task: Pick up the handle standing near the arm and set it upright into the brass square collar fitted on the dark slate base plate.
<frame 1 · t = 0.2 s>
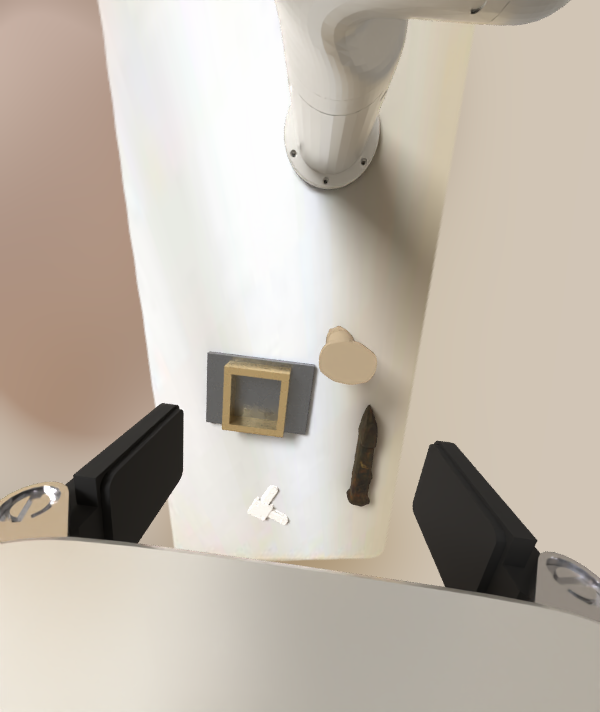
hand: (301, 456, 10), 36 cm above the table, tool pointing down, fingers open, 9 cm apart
collar base: (259, 392, 49), on the table
dark brown carved statuette: (358, 449, 51), on the table
corner connector: (275, 501, 56), on the table
handle: (337, 335, 45), on the table
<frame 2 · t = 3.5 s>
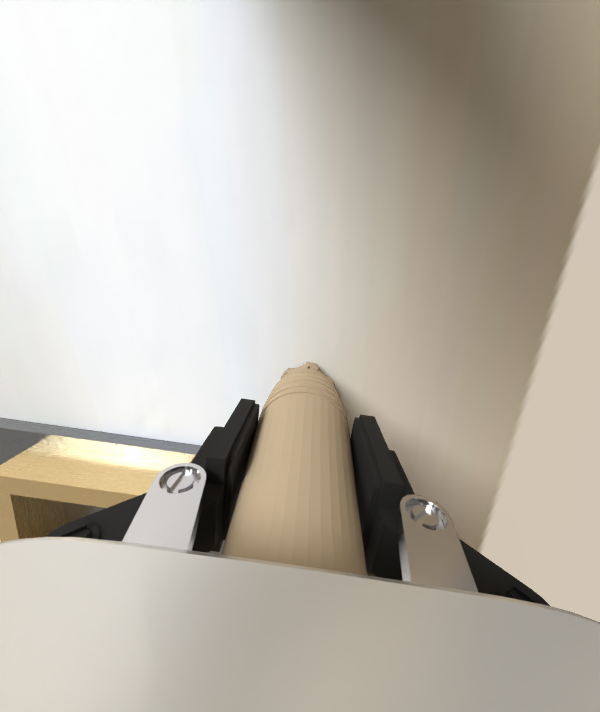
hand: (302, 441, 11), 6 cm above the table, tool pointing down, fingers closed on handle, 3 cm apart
collar base: (127, 510, 21), on the table
handle: (306, 383, 18), on the table, touching gripper
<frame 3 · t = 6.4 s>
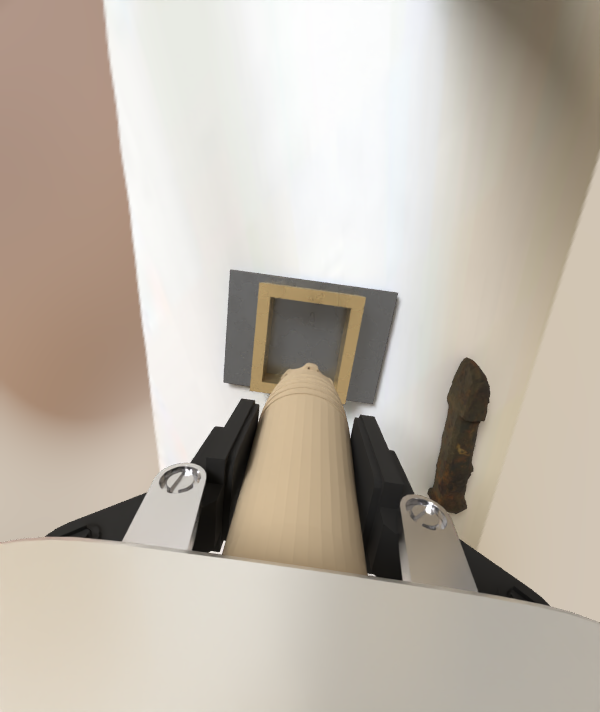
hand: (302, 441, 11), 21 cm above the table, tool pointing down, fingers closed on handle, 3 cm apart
collar base: (305, 338, 32), on the table
dark brown carved statuette: (445, 428, 35), on the table
handle: (306, 384, 18), point 15 cm above the table, touching gripper
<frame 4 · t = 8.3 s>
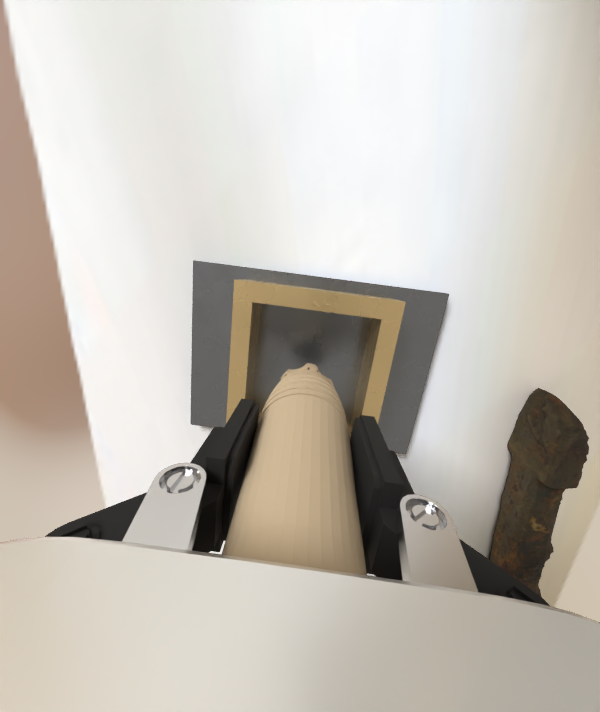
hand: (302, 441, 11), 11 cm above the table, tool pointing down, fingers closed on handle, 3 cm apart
collar base: (308, 361, 22), on the table
dark brown carved statuette: (503, 484, 25), on the table
handle: (306, 384, 18), point 5 cm above the table, touching gripper
when the fingers open (9 cm above the table, at t = 9.6 s): handle drops 1 cm, resting on collar base.
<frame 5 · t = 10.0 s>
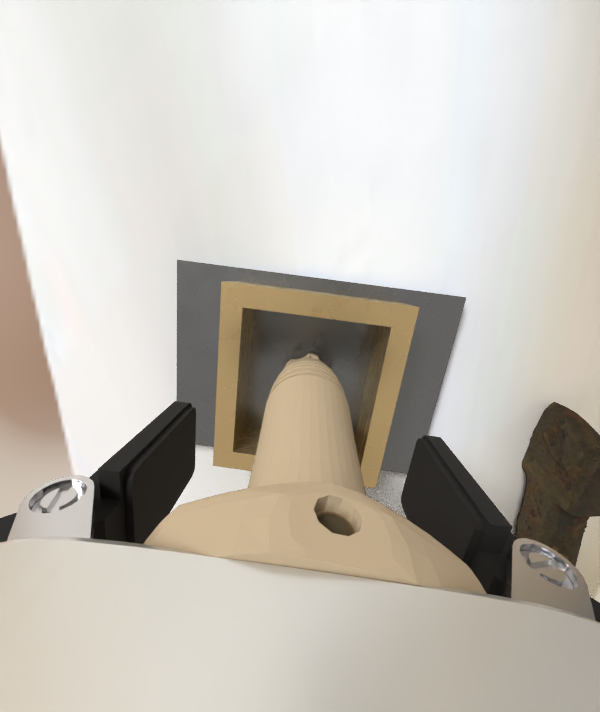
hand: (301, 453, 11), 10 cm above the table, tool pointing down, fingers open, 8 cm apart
collar base: (307, 372, 20), on the table
dark brown carved statuette: (518, 505, 22), on the table
handle: (307, 373, 19), point 1 cm above the table, touching collar base
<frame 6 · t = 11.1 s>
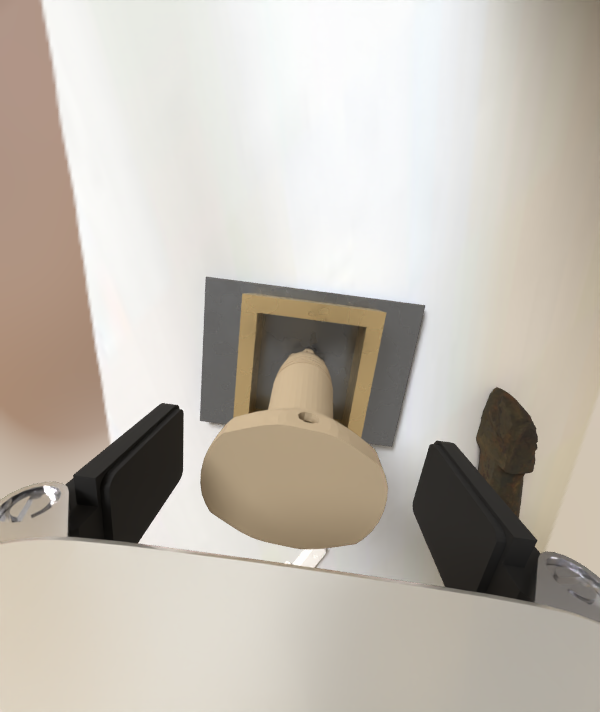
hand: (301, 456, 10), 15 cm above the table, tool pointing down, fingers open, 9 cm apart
collar base: (305, 363, 25), on the table
dark brown carved statuette: (477, 474, 28), on the table
corner connector: (318, 567, 32), on the table
handle: (305, 364, 24), point 1 cm above the table, touching collar base
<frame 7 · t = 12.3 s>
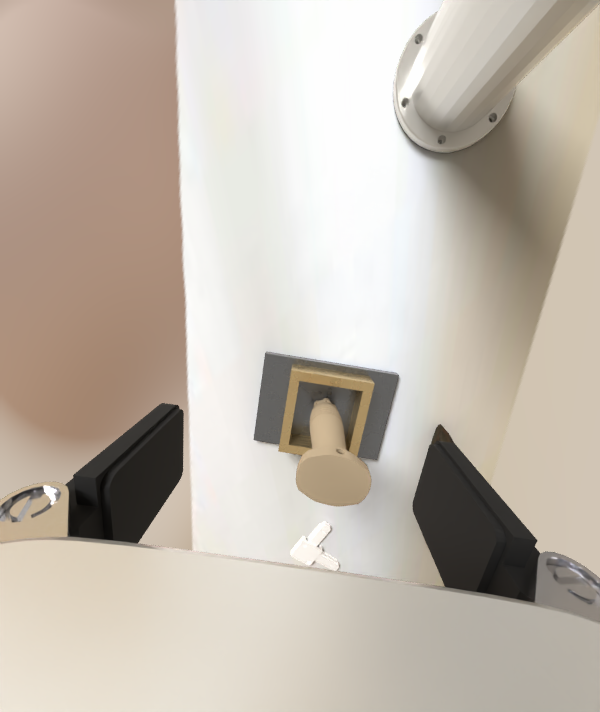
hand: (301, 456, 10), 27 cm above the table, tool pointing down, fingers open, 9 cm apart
collar base: (323, 405, 39), on the table
corner connector: (324, 541, 46), on the table
handle: (323, 407, 38), point 1 cm above the table, touching collar base
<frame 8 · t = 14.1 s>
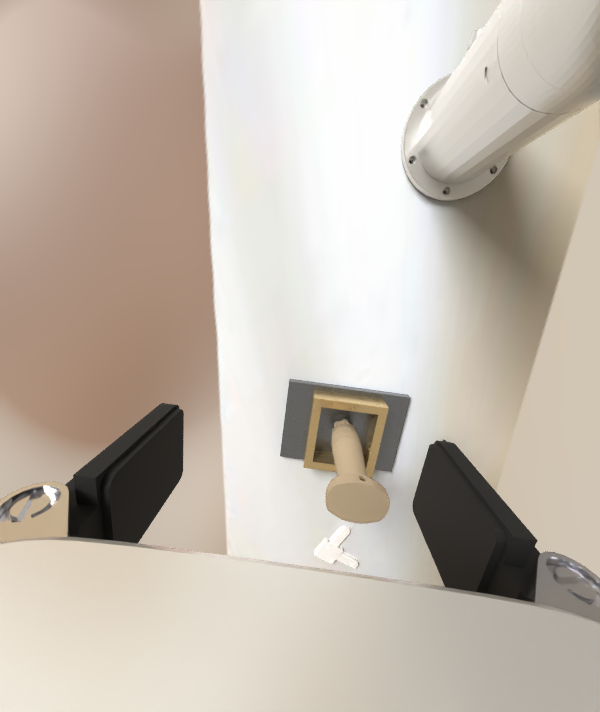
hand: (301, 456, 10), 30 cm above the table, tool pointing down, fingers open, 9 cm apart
collar base: (341, 424, 43), on the table
corner connector: (344, 541, 51), on the table
handle: (342, 426, 43), point 1 cm above the table, touching collar base
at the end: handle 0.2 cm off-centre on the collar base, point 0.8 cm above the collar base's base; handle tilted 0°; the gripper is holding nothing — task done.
